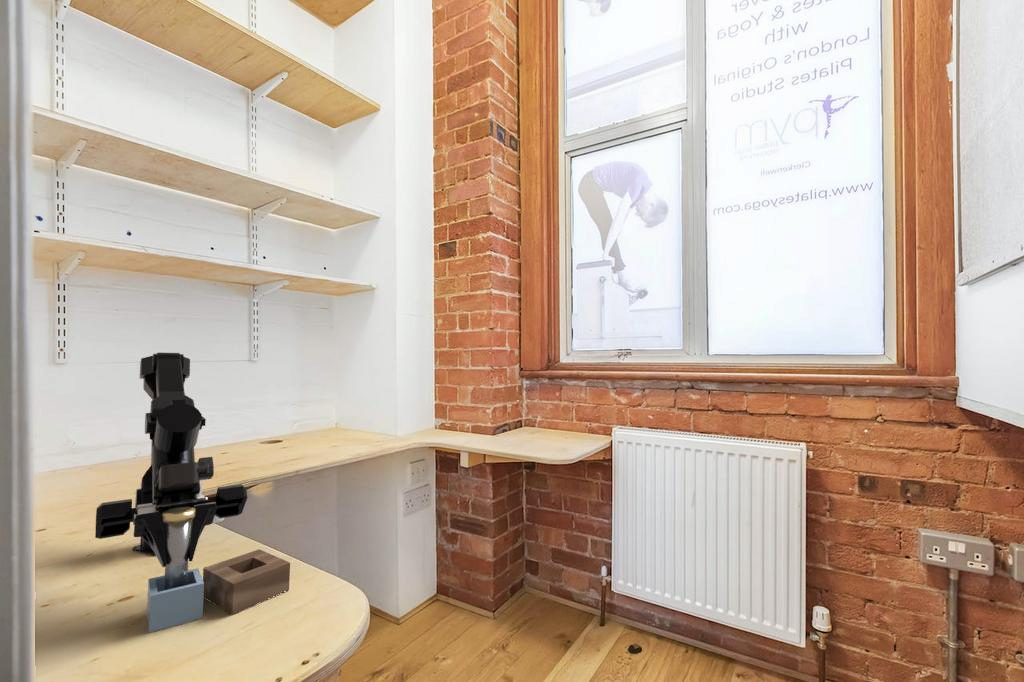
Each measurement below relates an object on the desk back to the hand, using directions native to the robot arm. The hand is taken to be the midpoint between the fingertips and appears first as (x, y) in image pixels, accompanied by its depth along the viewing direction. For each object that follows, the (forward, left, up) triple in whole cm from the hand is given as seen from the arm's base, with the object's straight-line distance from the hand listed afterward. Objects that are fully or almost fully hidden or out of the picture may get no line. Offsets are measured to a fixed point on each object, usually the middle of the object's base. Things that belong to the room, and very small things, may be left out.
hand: (177, 562), depth 69 cm
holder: (-1, +1, -8) cm, 8 cm away
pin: (-1, +1, -7) cm, 7 cm away
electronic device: (-35, +34, -9) cm, 50 cm away
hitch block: (+3, +9, -8) cm, 13 cm away
